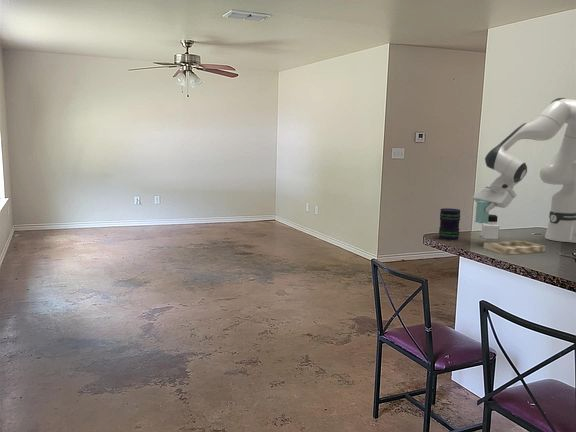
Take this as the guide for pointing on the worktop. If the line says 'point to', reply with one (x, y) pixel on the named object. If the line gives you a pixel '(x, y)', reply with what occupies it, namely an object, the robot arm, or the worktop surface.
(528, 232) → the worktop surface
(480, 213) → the post
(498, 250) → the keyhole board
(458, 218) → the storage jar
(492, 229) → the medicine bottle
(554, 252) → the worktop surface
